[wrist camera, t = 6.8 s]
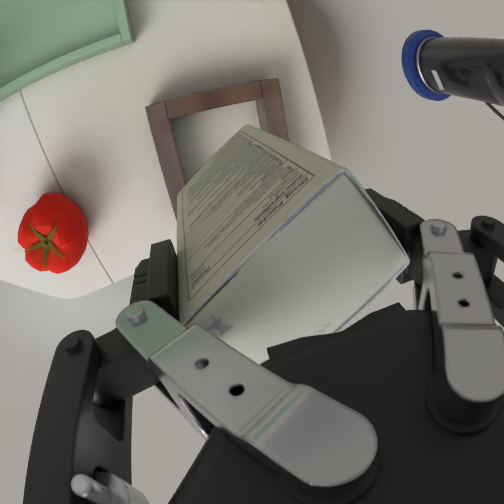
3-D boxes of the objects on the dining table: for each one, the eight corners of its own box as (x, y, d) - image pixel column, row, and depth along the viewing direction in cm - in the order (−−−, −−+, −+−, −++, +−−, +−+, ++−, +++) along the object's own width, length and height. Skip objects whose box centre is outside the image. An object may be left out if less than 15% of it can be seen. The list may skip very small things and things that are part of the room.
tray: (116, -62, 20) (113, -71, 17) (134, 42, 28) (131, 38, 26) (-22, 5, 18) (-33, 2, 15) (-9, 106, 26) (-20, 108, 24)
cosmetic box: (225, 235, 21) (274, 387, 10) (173, 192, 19) (170, 333, 8) (295, 167, 20) (417, 266, 9) (246, 116, 18) (347, 164, 7)
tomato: (93, 255, 39) (80, 287, 33) (35, 248, 36) (14, 278, 30) (95, 187, 35) (78, 210, 29) (32, 182, 32) (6, 203, 26)
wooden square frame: (268, 79, 33) (278, 78, 30) (286, 187, 41) (296, 197, 37) (148, 105, 32) (145, 107, 29) (178, 214, 39) (178, 227, 36)
